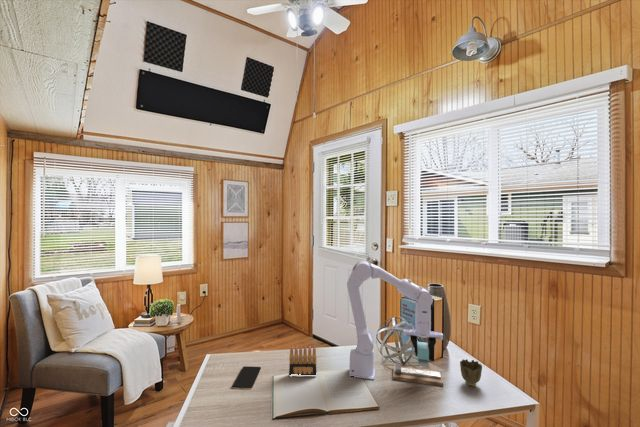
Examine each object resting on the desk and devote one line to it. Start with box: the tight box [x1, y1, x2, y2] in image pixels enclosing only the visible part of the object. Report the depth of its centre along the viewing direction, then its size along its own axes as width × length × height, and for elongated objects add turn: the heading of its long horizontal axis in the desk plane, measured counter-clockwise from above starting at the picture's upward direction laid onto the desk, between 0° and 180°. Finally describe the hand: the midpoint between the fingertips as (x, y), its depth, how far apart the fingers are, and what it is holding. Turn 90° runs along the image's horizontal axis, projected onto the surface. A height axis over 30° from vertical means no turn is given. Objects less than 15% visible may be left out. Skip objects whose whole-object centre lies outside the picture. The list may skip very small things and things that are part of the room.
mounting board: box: [392, 364, 444, 387], centre depth 122 cm, size 18×9×1 cm, turn 76°
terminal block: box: [416, 341, 430, 366], centre depth 120 cm, size 4×7×6 cm, turn 166°
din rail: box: [395, 363, 442, 379], centre depth 122 cm, size 17×5×2 cm, turn 76°
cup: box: [459, 359, 483, 388], centre depth 116 cm, size 8×7×8 cm
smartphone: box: [231, 365, 262, 390], centre depth 120 cm, size 7×1×15 cm
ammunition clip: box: [288, 344, 317, 376], centre depth 122 cm, size 11×2×12 cm, turn 91°
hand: (422, 355), depth 121 cm, fingers closed on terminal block, 4 cm apart
